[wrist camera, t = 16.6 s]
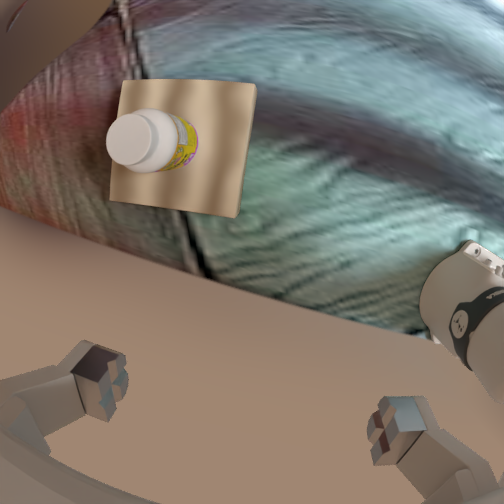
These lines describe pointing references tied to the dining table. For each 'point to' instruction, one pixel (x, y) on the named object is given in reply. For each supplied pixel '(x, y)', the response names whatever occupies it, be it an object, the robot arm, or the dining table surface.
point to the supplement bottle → (152, 141)
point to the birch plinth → (209, 151)
